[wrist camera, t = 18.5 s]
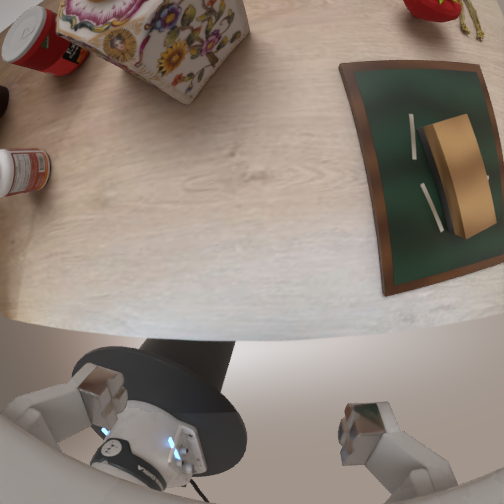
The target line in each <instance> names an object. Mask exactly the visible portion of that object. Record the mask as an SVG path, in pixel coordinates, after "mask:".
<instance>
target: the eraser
mask: <svg viewBox="0 0 504 504" xmlns="http://www.w3.org/2000/svg"><path fill="white" fill-rule="evenodd" d="M416 130H417V132H418V135H419V137H420V140H421V143H422V145H423V148H424V151H425V153H426V156H427V159H428V162H429V165H430V168H431V171H432V174H433V177H434V180H435V184H436V187H437V190H438V194H439V197H440V201H441V205H442V208H443V212H444V216H445V220H446V225H447V229H448V232H450V233H452V234H455V235H457V236H459V237H462V238H464V239H468V238H470V237H472V236H474V235H475V234H477V233H479V232H481V231H483V230H485V229H487V228H488V227H490V226H492V225H494V224H496V223H497V222H496V216H495V211H494V205H493V200H492V196H491V191H490V187H489V182H488V178H487V174H486V171H485V167H484V163H483V160H482V156H481V153H480V150H479V147H478V143H477V140H476V137H475V134H474V132H473V129H472V126H471V123H470V121H469V118H468V115H467V114H463V115H460V116H456V117H452V118H449V119H446V120H442V121H439V122H436V123H433V124H430V125H427V126H424V127H421V128H418V129H416Z"/></svg>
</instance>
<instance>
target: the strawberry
mask: <svg viewBox="0 0 504 504" xmlns="http://www.w3.org/2000/svg"><path fill="white" fill-rule="evenodd" d="M403 1H404V3H405V5H406V7H407V9H408V10H409V11H410V13H411V14H412V15H413V16H414V17H415V18H419V19H423V20H427V21H434V22H447V21H451V20H455V19H457V18H458V16H459V15H460V13H461V11H462V6H461V4H460V1H459V0H403Z"/></svg>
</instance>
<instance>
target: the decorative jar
mask: <svg viewBox="0 0 504 504" xmlns="http://www.w3.org/2000/svg"><path fill="white" fill-rule="evenodd" d="M249 32H250V29H249V24H248V19H247V15H246V11H245V7H244V4H243V0H61V2H60V5H59V11H58V14H57V16H56V34H57V36H60V37H62V38H64V39H66V40H68V41H70V42H72V43H74V44H76V45H78V46H80V47H82V48H84V49H86V50H88V51H90V52H91V53H93V54H95V55H97V56H99V57H101V58H103V59H104V60H106V61H108V62H110V63H112V64H114V65H116V66H118V67H120V68H122V69H123V70H126V71H128V72H129V73H131V74H133V75H134V76H136V77H138V78H140V79H142V80H143V81H145V82H147V83H149V84H151V85H152V86H154V87H156V88H157V89H159V90H161V91H163V92H165V93H166V94H168V95H170V96H171V97H173V98H175V99H176V100H178V101H179V102H181V103H183V104H186V105H188V104H190V103H191V102H192V101H193V100H194V98H195V97H196V96H197V94H198V93H199V92H200V90H201V89H202V88H203V86H204V85H205V84H206V82H207V81H208V80H209V79H210V77H211V76H212V75H213V73H214V72H215V71H216V70H217V69H218V67H219V66H220V65H221V64H222V63H223V62H224V60H225V59H226V58H227V57H228V56H229V55H230V53H231V52H232V51H233V50H234V48H235V47H236V46H237V45H238V44H239V43H240V42H241V41H242V40H243V39H244V38H245V36H246V35H247V34H248V33H249Z"/></svg>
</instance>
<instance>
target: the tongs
mask: <svg viewBox="0 0 504 504" xmlns="http://www.w3.org/2000/svg"><path fill="white" fill-rule="evenodd" d="M459 1H460V4H461V6H462V11H461V13H460V16H461V24H462V28H463V31H464V32H465V33H466V34H470V31H469V30H468V28H467V27H466V25H465V24H464V20H465V15H464V6H463V2H462V0H459ZM466 2H467V4H468V7H469V10H470V14H471V16H472V18H473V19H474V22H475V24H476V28H477V34H478V35H477V38H479V37H480V38H482V39H483V38H484V33H483V31H482V30H481V26H480V21H479V19H478V16H477V12H476V10H475V8H474V6H473V4H472V3H471V1H470V0H466ZM478 23H479V25H478Z"/></svg>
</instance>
